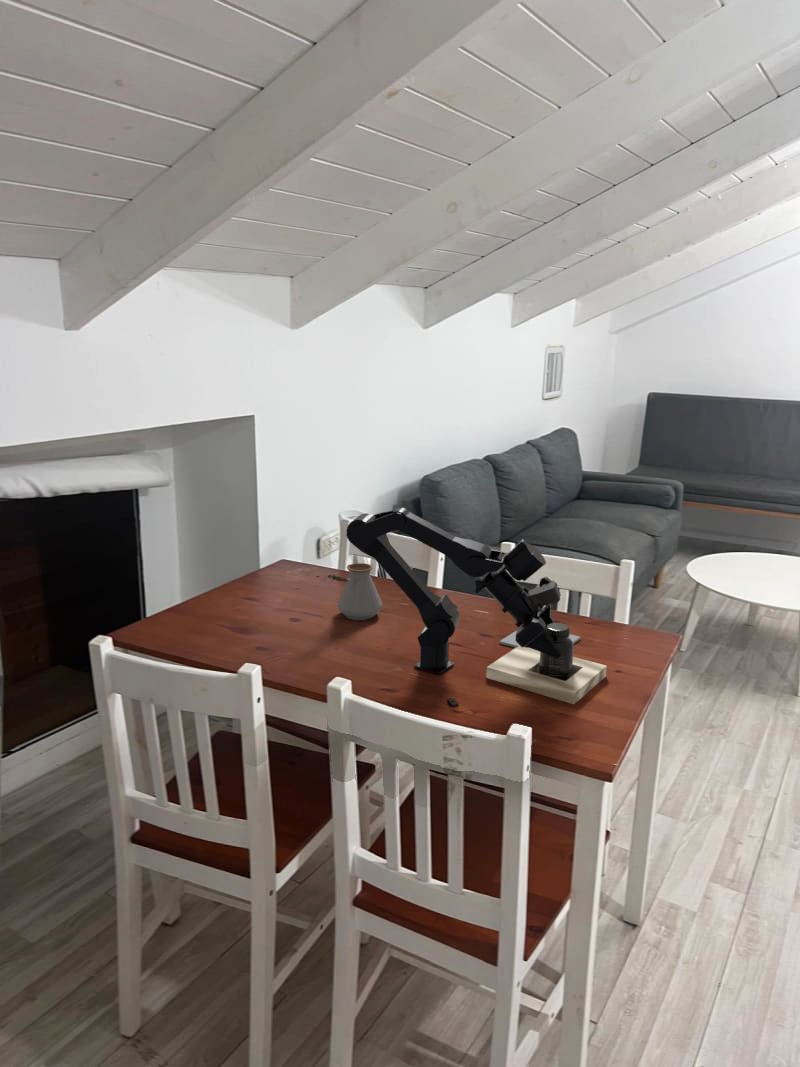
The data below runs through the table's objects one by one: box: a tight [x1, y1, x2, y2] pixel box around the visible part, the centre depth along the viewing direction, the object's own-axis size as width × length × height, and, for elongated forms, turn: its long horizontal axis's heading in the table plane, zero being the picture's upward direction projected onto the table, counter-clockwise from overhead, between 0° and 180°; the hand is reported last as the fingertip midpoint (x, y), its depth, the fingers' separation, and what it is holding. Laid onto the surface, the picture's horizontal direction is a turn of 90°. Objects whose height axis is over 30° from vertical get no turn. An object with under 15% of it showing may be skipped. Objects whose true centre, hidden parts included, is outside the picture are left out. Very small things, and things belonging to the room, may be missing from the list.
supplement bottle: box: [538, 622, 575, 681], centre depth 169 cm, size 7×7×12 cm
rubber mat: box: [499, 630, 581, 649], centre depth 190 cm, size 14×14×1 cm
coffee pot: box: [323, 562, 383, 621], centre depth 200 cm, size 21×12×15 cm, turn 154°
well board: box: [486, 645, 608, 705], centre depth 171 cm, size 16×20×2 cm
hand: (560, 648), depth 168 cm, fingers open, 9 cm apart
